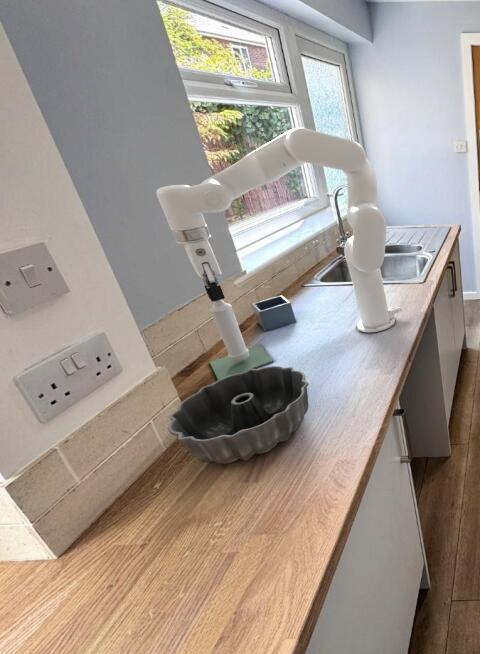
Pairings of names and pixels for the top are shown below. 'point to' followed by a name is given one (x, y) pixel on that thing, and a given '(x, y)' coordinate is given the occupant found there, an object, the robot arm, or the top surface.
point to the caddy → (274, 312)
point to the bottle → (229, 330)
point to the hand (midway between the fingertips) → (217, 298)
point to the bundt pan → (241, 414)
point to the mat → (241, 363)
